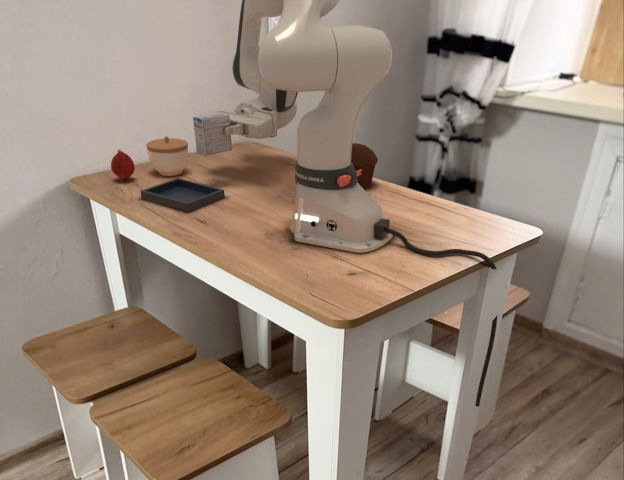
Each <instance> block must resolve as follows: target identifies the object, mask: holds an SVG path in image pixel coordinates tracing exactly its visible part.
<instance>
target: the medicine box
mask: <svg viewBox="0 0 624 480" xmlns="http://www.w3.org/2000/svg"><path fill="white" fill-rule="evenodd" d="M192 121H193V130H194V138H195V147H196V153H197V154H199V155H202V156H203V157H204V156H205V157H206V156H207V157H208V156H212V155H217V154H221V153H226V152H230V151H233V143H232V135H229V136H228V135H224V134H223V127H226V126H230V116H229V115H227V114H224V113H213V114H207V115H201V116H200V115H197V116H193V117H192Z"/></svg>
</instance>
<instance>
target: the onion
mask: <svg viewBox="0 0 624 480" xmlns="http://www.w3.org/2000/svg"><path fill="white" fill-rule="evenodd" d="M135 167H136V166H135V162H134V160H133V159H132V157H130V156H129V154H128V153H125V152H124V151H123V150H122V149H121V148H118V149H117V152H116V154H115V155H114V156H113V157H112V158H111V161H110V169H111V171H112V173H113V174H114V175H115V176H116V177H118V178H119V179H121V181H127V180H128V179H130V177H132V175H133V174H134V172H135Z"/></svg>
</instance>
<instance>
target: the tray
mask: <svg viewBox="0 0 624 480" xmlns="http://www.w3.org/2000/svg"><path fill="white" fill-rule="evenodd" d="M139 191H140V196H141V197H140V199H141V200H144V201H147V202H151V203H155V204H159V205H161V206H164V207H168V208H171V209H174V210H178V211H181V212H186V213H190V212H193V211H196V210H198V209H200V208H201V209H202V208H203V207H205V206H208V205H210V204H213V203H215V202H218V201H220V200H222V199H223V200H224V199H225V198H226V197H225V189H223V188H219V187H215V186H211V185H209V184H208V185H207V184H203V183H199V182H195V181H192V180H188V179H184V178H180V177H176V178H173V179H171V180H168V181H165V182H162V183H159V184H156V185H153V186H150V187H148V188H144V189H142V190H139Z"/></svg>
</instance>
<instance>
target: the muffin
mask: <svg viewBox="0 0 624 480" xmlns="http://www.w3.org/2000/svg"><path fill="white" fill-rule="evenodd" d="M351 162H352V164H353V167H354V169H355V171H358V170H360V169H362V171H361V172H360V173H362V174H361V175H359V176H357V180H358V182H357V183H358V184H359V185H360V186H361V187H362V188H363V189H364V190H366V189H370V188H371V186H372V182H373V177H374V173H375V169H376V165H377V163H378V162H379V158H378V157H377V155H376V153H375V152H374V150H373V149H371V148H370V147H368V146H367V145H366V144H364V143H363V144H362V143H358V142H355V143H353V142H352V152H351ZM360 173H359V174H360Z"/></svg>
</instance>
